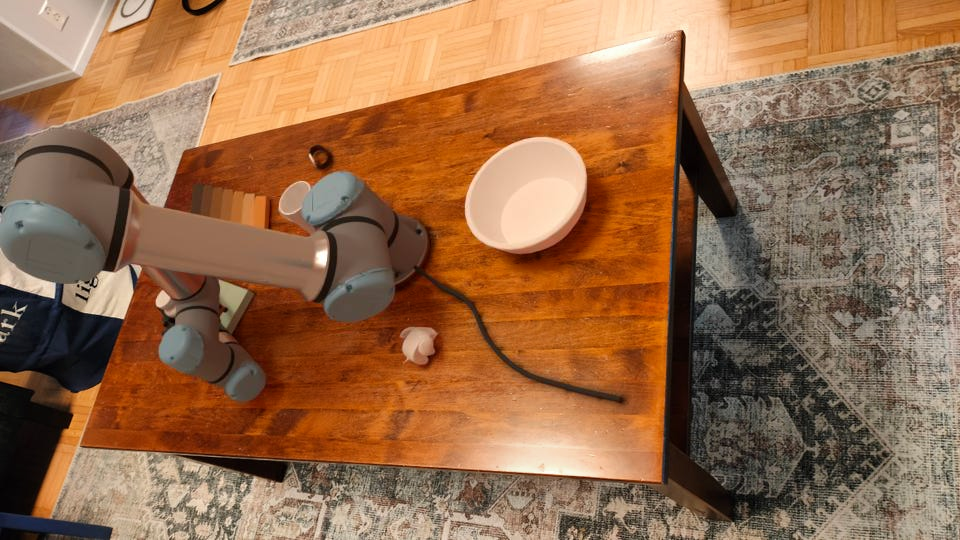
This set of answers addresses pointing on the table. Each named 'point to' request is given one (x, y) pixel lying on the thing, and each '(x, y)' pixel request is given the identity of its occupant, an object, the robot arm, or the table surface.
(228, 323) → the mounting pad
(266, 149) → the table surface
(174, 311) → the pill bottle
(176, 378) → the table surface
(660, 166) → the table surface
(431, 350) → the elephant figurine
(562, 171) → the bowl
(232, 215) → the pan flute
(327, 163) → the watch
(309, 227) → the mug
